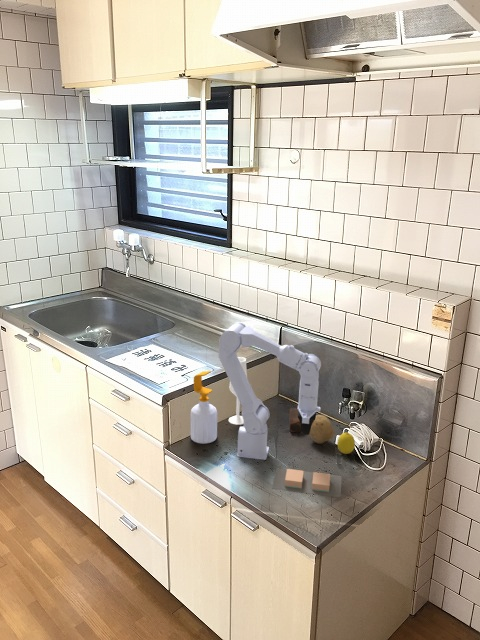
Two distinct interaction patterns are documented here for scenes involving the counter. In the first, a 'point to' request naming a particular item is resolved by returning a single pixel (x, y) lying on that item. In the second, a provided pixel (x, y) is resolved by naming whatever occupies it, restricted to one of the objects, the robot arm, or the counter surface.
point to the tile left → (294, 478)
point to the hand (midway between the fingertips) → (305, 433)
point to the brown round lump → (321, 429)
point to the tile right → (321, 482)
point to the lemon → (346, 443)
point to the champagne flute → (237, 418)
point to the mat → (307, 484)
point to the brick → (294, 421)
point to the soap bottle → (203, 414)
